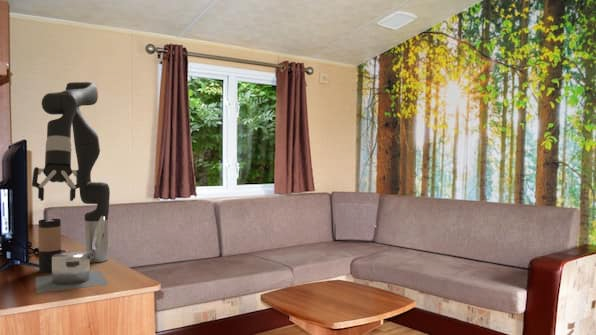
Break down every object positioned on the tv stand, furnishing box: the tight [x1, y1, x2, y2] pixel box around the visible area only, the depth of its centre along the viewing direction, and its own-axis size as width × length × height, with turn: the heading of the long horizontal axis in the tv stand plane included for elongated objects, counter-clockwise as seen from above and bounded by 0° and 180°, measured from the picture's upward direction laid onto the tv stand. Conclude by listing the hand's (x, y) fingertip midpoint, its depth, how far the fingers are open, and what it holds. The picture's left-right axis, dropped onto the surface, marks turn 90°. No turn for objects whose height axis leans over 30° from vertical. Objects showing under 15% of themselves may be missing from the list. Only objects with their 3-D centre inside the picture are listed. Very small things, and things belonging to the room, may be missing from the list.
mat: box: [34, 269, 109, 294], centre depth 166 cm, size 22×22×1 cm
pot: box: [51, 251, 93, 285], centre depth 166 cm, size 16×13×9 cm
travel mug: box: [38, 218, 62, 274], centre depth 179 cm, size 8×8×20 cm
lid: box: [90, 216, 105, 255], centre depth 170 cm, size 13×14×2 cm
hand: (56, 200), depth 151 cm, fingers open, 8 cm apart
